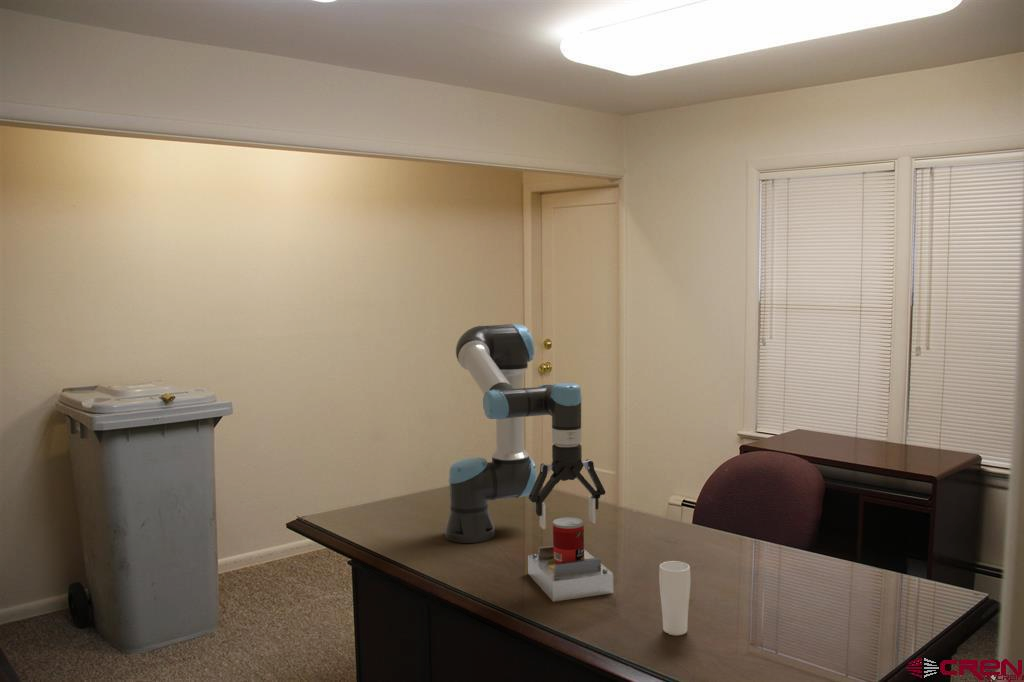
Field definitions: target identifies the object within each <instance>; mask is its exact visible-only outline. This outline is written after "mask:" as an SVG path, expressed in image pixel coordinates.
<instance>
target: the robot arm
mask: <svg viewBox="0 0 1024 682" xmlns="http://www.w3.org/2000/svg"><path fill="white" fill-rule="evenodd" d="M456 343H457V344H456V346H455V356H456V359H457V361H458V363H459V365H460V366H461V367H462V368H463V369H464V370H466V371H468V372H469V374H470V376H471V377H472V378H473V380H474V381H475V382H476V385H477V386H478V388H479V390H480V391H481V392H482V393H483V397H482V408H483V411H484V415H485V417H486V418H487V419H490V420H495V425H496V427H495V428H496V431H495V433H496V434H495V435H496V450H495V451H494V452H493V453H492V455H491V461H489V462H488V461H487V459H486V458H483V457H471V458H465V459H461V460H459V461H456V462H455V463H453V464H452V465H451V466H450V468H449V476H448V482H449V483H448V484H449V506H450V507H449V508H450V509H449V510H450V512H449V516H448V518H447V522H446V526H445V532H444V533H445V534H444V537H445V538H446V540H448V541H450V542H453V543H458V544H475V543H481V542H486V541H488V540H490V539H492V538H494V537H495V526H494V522H493V519H492V518H491V515H490V512H489V501H495V500H496V501H497V500H505V499H513V498H515V499H518V498H521V497H527V496H528V499H529V501H530V502H532V503H535V513H536V515H537V517H539V527H540V528H541V529H542V530H547V521H546V516H547V515H546V506H547V505H546V503H545V502H544V501H546V498H548V496H549V494H550V493H551V492H552V491H553V489H554V488H555V486H557V484H558V483H560V481H562V482H565V481H569V480H570V481H574V480H575V479H577V480H578V481H579V482H580V484H582V485H583V486H584V488H585V489H586V491H588V492H589V493H590V494H591V495H589V496H588V521H589V522H591V524H596V510H599V499H600V498H601V496H604V495H606V489H605V488H604V486H603V484H602V482H601V480H600V478H599V477H598V474H597V472H596V470H595V466H594V464H595V463H594V462H593V461H592V460H590V459H589V458H587V459H586V460H585V461H583V460H582V456H583V455H582V448H583V447H582V444H581V443H582V401H583V397H582V390H581V386H580V385H579V384H578V383H573V382H558V383H554V384H549V383H548V384H547V383H545V384H541V385H538V386H537V387H524V373H525V371H526V370H527V369H528V366H529V365H528V363H530V362H532V361H533V360H534V356H535V345H534V340H533V337H532V334H531V332H530V330H529V328H528V327H527V326H526V325H524V324H517V323H516V324H514V323H509V324H493V325H477V326H473V327H471V328H469V329H468V330H466V331H465V332H464V333H462V335H461V336H460V338H459V339H458V341H457V342H456ZM537 416H538V417H539V416H551V442H552V443H553V445H552V446H551V447H552V448H551V452H552V453H551V457H552V462H551V464H545V463H544V462H543V463H541V464H540V466H539V473H538V475H537V469H536V463H535V461H534V459H532V458H530V453H529V452H527V450H526V449H525V428H524V427H525V423H524V421H525V418H526V417H537ZM583 467H584V469H586V471H587V472H588V474H589V477H590V479H591V481H592V482H593V484H594V487H595V488H594V487H593V486H592V485H591V484H590V483H589V482H588V480H587V479H586V478H585V476H583V474H582V473H581V471H582V469H583ZM551 471H552V474H551V475H550V478H549V479H548V481H547V482H546V483H545V481H546V479H547V476H548V474H549V473H550V472H551ZM544 483H545V485H544Z"/></svg>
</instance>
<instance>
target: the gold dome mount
mask: <svg viewBox="0 0 1024 682" xmlns="http://www.w3.org/2000/svg"><path fill="white" fill-rule="evenodd" d="M537 547H538V546H537ZM537 549H538V550H537V553H532V554H530V555H527V571H528V573H527V574H528V575H529V577H531V579H532V580H533V581H534V582H535V584H537V585H538V586H539V587H540V588H541V590H542V591H543V592H544V593H545V594H546V595H547V597H549V599H550V600H551V601H552V602H560V601H567V600H573V599H583V598H588V597H596V596H601V595H608V594H614V573H613V572H612V571H611V570H610V569H609V568H607V567H606V566H605V565H604V564H603V563H602V558H601V557H594V556H593V555H592V554H590V552H588V551H587V550H586V549H585V548H584V559H583V560H575V561H568V562H560V563H555V562H554V553H553V545H545V546H539V547H538V548H537Z"/></svg>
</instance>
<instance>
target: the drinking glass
mask: <svg viewBox="0 0 1024 682" xmlns="http://www.w3.org/2000/svg"><path fill="white" fill-rule="evenodd" d="M658 570H659V571H658V574H659V577H658V579H659V583H658V584H659V593H660V594H659V595H660V603H661V614H662V630H663V632H664V633H666V634H667V633H668V634H667V635H671V636H682V635H685V634H687V632H688V619H689V618H688V617H689V606H690V605H689V604H690V594H691V567H690V565H689V563H686V562H684V561H678V560H667V561H664V562H661V563H660V564H659V569H658Z"/></svg>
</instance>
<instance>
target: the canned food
mask: <svg viewBox="0 0 1024 682" xmlns="http://www.w3.org/2000/svg"><path fill="white" fill-rule="evenodd" d="M552 546H553V553H554V562H555V563H560V562H568V561H575V560H583V559H584V549H585V525H584V521H583V520H582V519H580V518H578V517H559V518H556V519H553V522H552Z"/></svg>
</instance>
